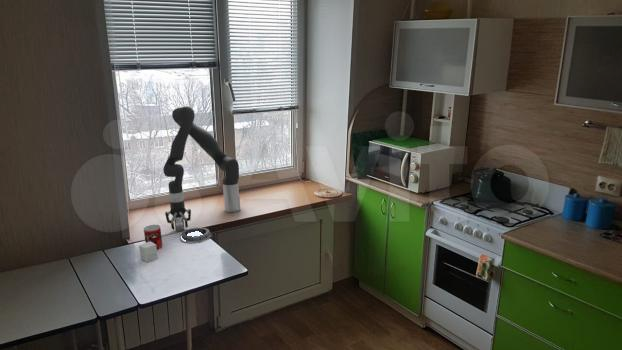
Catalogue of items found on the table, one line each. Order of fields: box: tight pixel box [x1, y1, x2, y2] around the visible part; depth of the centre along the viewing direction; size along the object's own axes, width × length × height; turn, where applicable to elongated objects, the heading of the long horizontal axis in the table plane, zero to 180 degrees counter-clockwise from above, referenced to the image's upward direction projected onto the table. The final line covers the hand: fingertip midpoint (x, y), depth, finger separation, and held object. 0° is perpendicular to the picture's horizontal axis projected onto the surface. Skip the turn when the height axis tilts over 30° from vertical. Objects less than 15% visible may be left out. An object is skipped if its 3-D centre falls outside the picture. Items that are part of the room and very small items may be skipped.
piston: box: [174, 217, 185, 233], centre depth 257 cm, size 5×5×7 cm
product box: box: [138, 241, 159, 263], centre depth 222 cm, size 6×6×7 cm
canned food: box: [143, 224, 163, 251], centre depth 234 cm, size 8×8×11 cm
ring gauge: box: [181, 226, 212, 243], centre depth 248 cm, size 16×16×3 cm
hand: (179, 228), depth 257 cm, fingers open, 6 cm apart
